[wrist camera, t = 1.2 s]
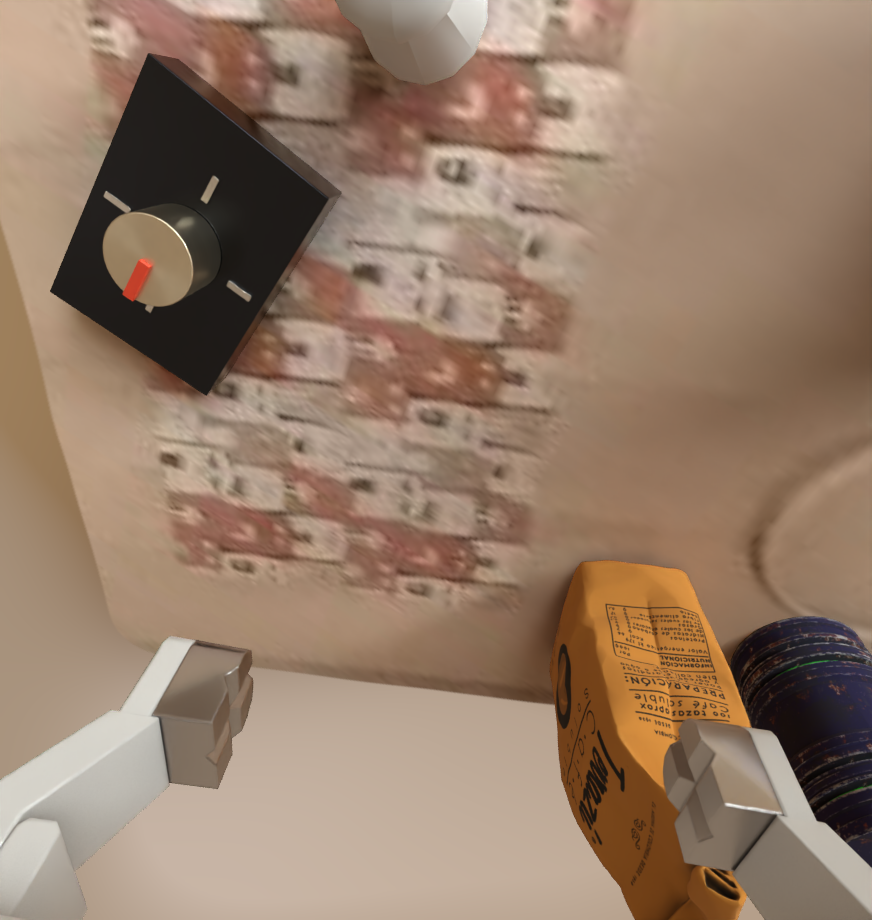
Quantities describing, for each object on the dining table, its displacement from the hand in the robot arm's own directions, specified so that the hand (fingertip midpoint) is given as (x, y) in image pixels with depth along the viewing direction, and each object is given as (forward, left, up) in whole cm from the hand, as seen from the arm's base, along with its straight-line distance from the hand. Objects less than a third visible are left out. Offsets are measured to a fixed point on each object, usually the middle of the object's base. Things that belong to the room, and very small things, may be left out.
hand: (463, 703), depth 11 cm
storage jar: (+6, +37, -28) cm, 46 cm away
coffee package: (+12, +23, -28) cm, 38 cm away
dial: (+7, -15, -24) cm, 29 cm away
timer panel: (+7, -15, -27) cm, 32 cm away
